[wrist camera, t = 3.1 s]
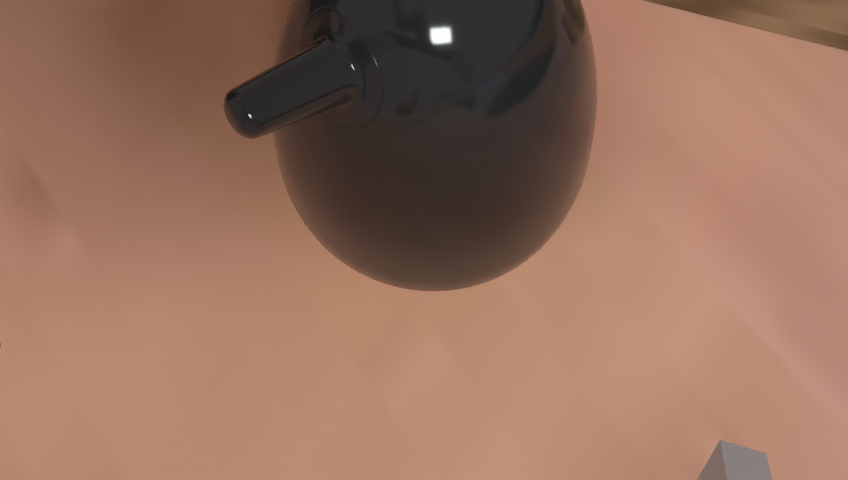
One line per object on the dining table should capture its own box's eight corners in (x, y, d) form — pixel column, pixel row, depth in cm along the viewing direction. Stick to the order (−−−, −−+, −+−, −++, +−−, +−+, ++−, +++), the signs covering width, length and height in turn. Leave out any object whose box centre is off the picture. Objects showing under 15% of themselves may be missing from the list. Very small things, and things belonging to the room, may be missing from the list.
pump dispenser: (241, 157, 30) (62, -95, 15) (451, 5, 31) (475, -362, 17) (404, 367, 28) (382, 314, 13) (619, 195, 30) (815, -24, 15)
